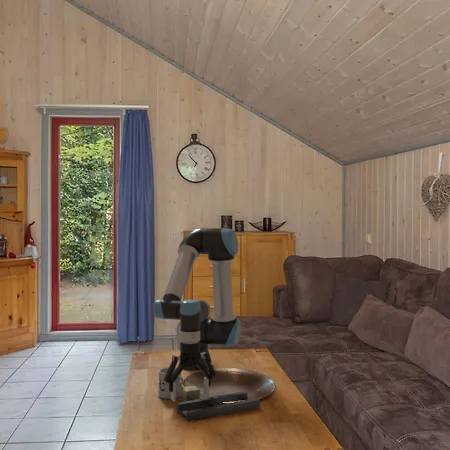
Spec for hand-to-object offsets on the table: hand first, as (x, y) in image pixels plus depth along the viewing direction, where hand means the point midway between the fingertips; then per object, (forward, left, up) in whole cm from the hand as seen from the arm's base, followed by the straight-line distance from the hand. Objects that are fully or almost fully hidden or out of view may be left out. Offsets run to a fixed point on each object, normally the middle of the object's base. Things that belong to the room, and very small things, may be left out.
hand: (189, 397), depth 214 cm
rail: (+11, +6, -2) cm, 13 cm away
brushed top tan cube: (0, 0, -2) cm, 2 cm away
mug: (-9, -3, -2) cm, 10 cm away
